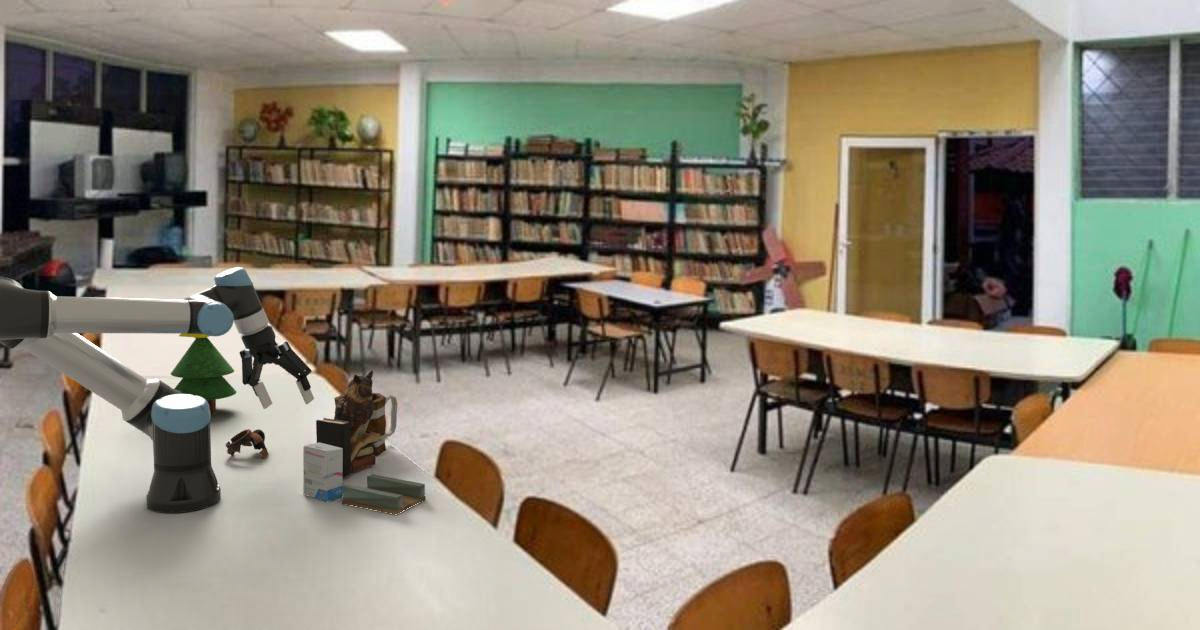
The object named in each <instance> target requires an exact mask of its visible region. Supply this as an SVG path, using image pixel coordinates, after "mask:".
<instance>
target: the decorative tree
mask: <svg viewBox="0 0 1200 630" xmlns="http://www.w3.org/2000/svg"><path fill="white" fill-rule="evenodd" d="M178 337H181V338H182V337H185V338H194V340H193V342H192V343H191V344H190V346H189V347H188V348H187V350H186V351H185V353H184V354H183V356H182V357H181V358H180V359H179V361H178V363H177V364H176V366H175V367H174V368H173V370H172V371H171V372H170V375H171V376H172V377H176V378H181V380H180V381H179V382H178V383H177V385H176V386H175V387H174V388H173V389H174V390H177V391H180V392H181V393H183V394H191V395H193V396H200V397H202V398H204V399H205V400H206V401H207V402H208V404H209V410H210V413H211V416H213V415H215V414H217V400H220V399H227V398H229V397H233V396H235V395H236V394H237V390H236V389H235V388H234V387H233V385H231V384H230V383H229V381H228V380H227V379H226V378H225V376H228V375H230V374H233V373H234V372H235V369H234V368H233V367H232V366H231V364H229V362H228V361H227V359H226V358H225V357H224V356H223V355H222V353H221V352H220V351H219V350H218V348H217V347H216V346H215V345H214V344H213V343H212V342H211V340H210V339H209V338H208V337H210V336H208V335H205V334H179V335H178Z"/></svg>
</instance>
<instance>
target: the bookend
mask: <svg viewBox="0 0 1200 630" xmlns="http://www.w3.org/2000/svg"><path fill="white" fill-rule="evenodd" d="M373 376H374V371H373V370H369V371H367V373H366V374H365V375H358V374H354V376H353V378H352V379H351V380H349V382H348V385H347V387H346V389H345V391H344V392H343V394H344V396H343V397H342V399H340V401H339V403H338V404H337V405H336V406H335V407H334V408H335V409H334V416H333V418H326V417H323V419H321V420H320V419H316V420H315V432H316V433H315V434H316V443H319V442H320V443H324V444H328V445H332V446H335V447H339V448H343V478H346V477H349V476H351V475H352V473H356V472H358V471H360V470H364V469H367V468H369V467H372V466H375V465H376V463H377V460H376V459H377V458H376V457H377V456H376V457H375V455H374V454H375V453H376V447H375V445H374V443H376V442H378V441H381V440H382V439H381V436H380V434H378V433H375V432H370V431H367V430H366V429H367V427H368V424H369V420H370V418H371V416H372V415H373V410H374V405H373V404H374V403H373V400H372V393H373V379H372V378H373Z"/></svg>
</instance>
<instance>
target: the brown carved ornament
mask: <svg viewBox="0 0 1200 630" xmlns="http://www.w3.org/2000/svg"><path fill="white" fill-rule="evenodd" d="M230 441H231V442H230ZM230 441H227V442H226V443H225V447H226V451H227V454H228V455H230V456H231V457H234V455H235V453H239V454H240V453H241V448H242V447H241V446H243V447H252V446H253V449H254V450H259V454H260V456H261V458H262V459H261V460H264V459H266V458H268V455H269V451H268V449H267V446H266V445H265V441H266V436H265V433H264V431H263V430H261V429H259V428H258V429H254V430H253V431H252V430H251V429H250V428H248V429H244V430H242V431H240V432H238V433H237V434H235V435H234V436H233V437H231V438H230Z"/></svg>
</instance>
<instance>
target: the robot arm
mask: <svg viewBox="0 0 1200 630" xmlns="http://www.w3.org/2000/svg"><path fill="white" fill-rule="evenodd" d="M213 280H214V282H215V283H214V284H215V285H213V286H212V287H209V288H207V289H205V290H202V291H200V292H197V293H194V294H193V295H189V296H188V297H184V298H181V299H166V298H165V299H162V298H133V297H132V298H131V297H130V298H128V297H124V298H122V297H98V296H95V297H91V296H63V295H62V296H61V295H60V296H57V295H55V294H53V293H52V292H51V291H49V290H36V289H27V288H24V287H23V286H22V285H21V284H20V283H19V282H18V281H16V280H14V279H12V278H8V277H4V276H0V344H2V345H3V346H5V347H6V348H8V349H9V350H11V351H13V350H14V351H15V350H25V351H27V352H29V353H30V354H32V355H33V356H35V357H37V358H38V359H40V360H42V361H43V362H44V363H46V364H48V365H49V366H51V368H54V369H55V370H57V371H59V373H61V374H63V375H65V377H66V376H67V377H68V378H70V379H71V380H73V381H75V383H78V384H79V385H80V386H83V387H84V388H85V389H87V390H88V391H90V392H92V393H93V394H94V395H96V396H97V397H100V399H103V400H104V401H106V402H108V403H109V404H111V405H113V406H114V407H116V408H117V409H118V410H120V411H121V418H122V420H123V421H124V422H126V423H127V424H129V425H130V426H133V427H134V428H135V429H137V430H139V431H140V432H141V433H143V434H145V435H147V436H148V437H149V438H150V439H151V441H152V445H153V446H152V447H153V448H152V449H153V450H152V452H153V475H152V477H151V481H150V485H149V490H148V491H147V493H146V499H145V500H146V507H147V508H148V509H149V510H151V511H153V512H158V513H167V514H168V513H169V514H170V513H171V514H173V513H174V514H175V513H176V514H177V513H187V512H194V511H198V510H202V509H206V508H208V507H210V506H213V505H215V504H217V503H218V502H219V501H220V500H221V498H222V497H221V486H220V484H219V483H218V482H219V481H218V479H217V476H216V473H215V471H214V468H213V466H212V442H211V441H212V440H211V418H212V417H211V416H212V415H211V413H210V410H209V404H208V402H207V401H206V400H205V399H204V398H202V397H200V396H193V395H191V394H183V393H181V392H180V391H177V390H174V388H172V387H171V386H170V385H169V384H167V383H165V382H163V381H162V380H160V379H159V378H155V377H154V378H151V379H150V378H149V379H147V378H146V377H144V376H142V374H139V373H138V372H137V371H135V370H133V369H132V368H130V367H129V366H127V365H126V364H124V363H123V362H121V361H119V360H118V359H116V358H115V357H113V356H112V355H110V354H109V353H107V352H106V351H105V350H103V349H101V348H100V347H99V346H97V345H95V343H92V342H91V341H90V340H88V339H86V338H85V337H84V336H82V335H80V334H179V335H180V334H205V335H208V336H209V337H221V336H223V335H226V334H227V333H228V332H229V331H230V330H231V329H232V327H233V325H235V328H236V330H237V333H238V334H239V335H240V338H241V341H242V343H243V345H244V347H245V348H243V349H242V350H240V351H239V356H240V359H241V376H242V381H241V382H242V384H243V385H244V386H246V385H249V386H250V387H252V391H253V392H254V394H255V396H256V397H258V399H259V402H260V404H261V406H262V408H263V410H266V409H267V408H269V407H270V406H271V405H273V401H272V398H271V397H270V395H269V392H268V391H267V387H266V386H265V384H264V382H263V381H261V374H262V371H263V368H264V367H263V366H264V365H269V364H270V365H271V364H274V365H275V366H279V367H280V368H281V369H283V370H285V371H286V372H287V373H288V374H289V375H291V376H292V377H294V378H295V379H296V381H295V383H296V385H297V388H298V390H299V392H300V394H301V397H302V400H303V401H304V403H305V405H309V404H310V403H311V402H312V401H314V400H315V397H314V394H313V393H312V390H311V388H312V387H311V383H310V381H309V379H308V376H309V375H310V374H311V373H312V369H311V368H310V367H309V366H308V364H306V362H304V360H303V359H302V358H301V357H300V356H299V355H298V353H296V352H295V351H294V349H292V347H291V346H290V343H289V342H288V341H283V342H281V343H279V344H278V343H277V342H276V333H275V331H274V328H273V327H272V324H270V323H269V322H270V321H269V320H270V319H269V318H268V316H267V314H266V311H265V309H264V307H263V305H262V302H261V300H260V298H259V296H258V294H257V291H256V288H255V285H254V282H253V281H252V279H251V278H250V275H249V274H248V272H247V270H246V269H245V268H243V267H240V266H237V267H233V268H229V269H226V270H224V271H222V272H221V273H218V274H216V275H215V276H214V278H213Z"/></svg>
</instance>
